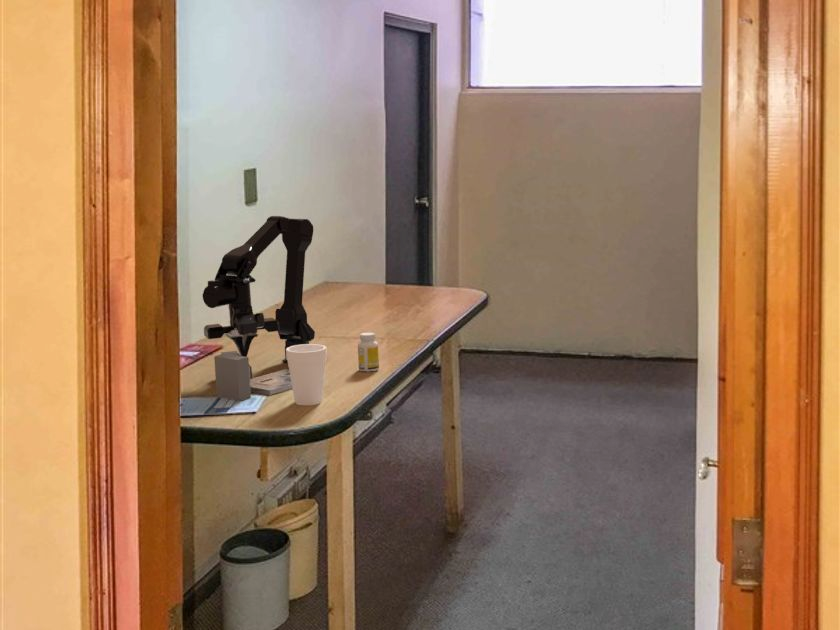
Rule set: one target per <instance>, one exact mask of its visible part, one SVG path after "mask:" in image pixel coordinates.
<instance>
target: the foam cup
mask: <svg viewBox="0 0 840 630" xmlns="http://www.w3.org/2000/svg"><path fill="white" fill-rule="evenodd" d="M327 351H328V349H327V346H325V345H324V344H319V343H317V344H315V343H309V344H301V345H295V346H291V347H288V348H287V349H286V359H287V361H288V362H287V366H288V370H289V372H290V377H291V383H292V392H293V397H294V402H295V404H296V405H298V406H315V405H320V404H321V403H322V402H323V397H324V385H325V384H324V383H325V374H326V373H325V372H326V364H327V363H326V361H327V358H328V353H327Z"/></svg>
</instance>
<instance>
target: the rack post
mask: <svg viewBox="0 0 840 630" xmlns="http://www.w3.org/2000/svg"><path fill="white" fill-rule="evenodd" d="M213 357H214V360H213V361H214V372H215V392H216V397H219V398H222V397H223V399H227V400H228V399H229V400H232V399H234V401H238V400H239V401H238V402H240V400H241V401H243V400H244V401H245V400H247V399H250V398H252V397H251V393H250V378H249V365H250V363H249V356H247V357H244V356H238V355H231V354H222V355H221V354H218V355H215V356H213Z"/></svg>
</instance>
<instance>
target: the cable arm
mask: <svg viewBox="0 0 840 630" xmlns="http://www.w3.org/2000/svg"><path fill="white" fill-rule="evenodd" d="M222 354H231V355H238V356H241V355H240V353H239V351H238V350H231V351H221V353H220V355H222ZM252 372H253V371H252V366H251V365H250V364H249V378H250V379H252V378H253V373H252ZM251 393H252V392H251V384H250V394H251Z"/></svg>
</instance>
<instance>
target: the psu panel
mask: <svg viewBox="0 0 840 630" xmlns="http://www.w3.org/2000/svg"><path fill="white" fill-rule="evenodd" d="M250 384H251V393H256V394H262V395H267V396H273V395H275V394H279V393H282V392H285V391H289V390H293V388H292V383H291V377H290V372H289V369H286V368H284V369H281V370H280V369H279V370H277V371H274V372H270V373H266V374H264V375H259V376H256V377H252V379H250Z"/></svg>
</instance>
